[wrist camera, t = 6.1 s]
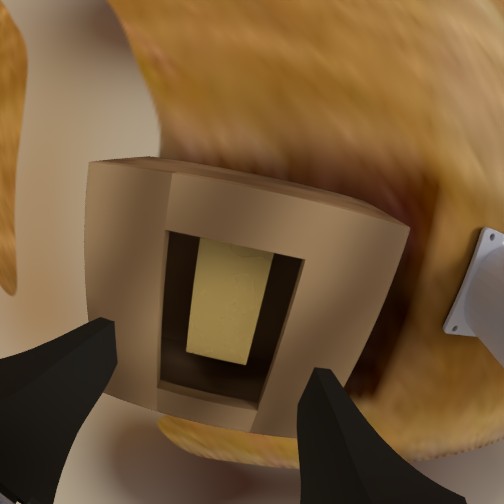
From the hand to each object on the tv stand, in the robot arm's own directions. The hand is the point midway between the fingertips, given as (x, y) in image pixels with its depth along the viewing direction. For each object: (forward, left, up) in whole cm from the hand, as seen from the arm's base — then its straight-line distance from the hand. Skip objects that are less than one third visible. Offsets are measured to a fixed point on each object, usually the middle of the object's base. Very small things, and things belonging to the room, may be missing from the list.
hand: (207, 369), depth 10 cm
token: (0, 0, -8) cm, 8 cm away
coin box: (0, 0, -8) cm, 8 cm away
